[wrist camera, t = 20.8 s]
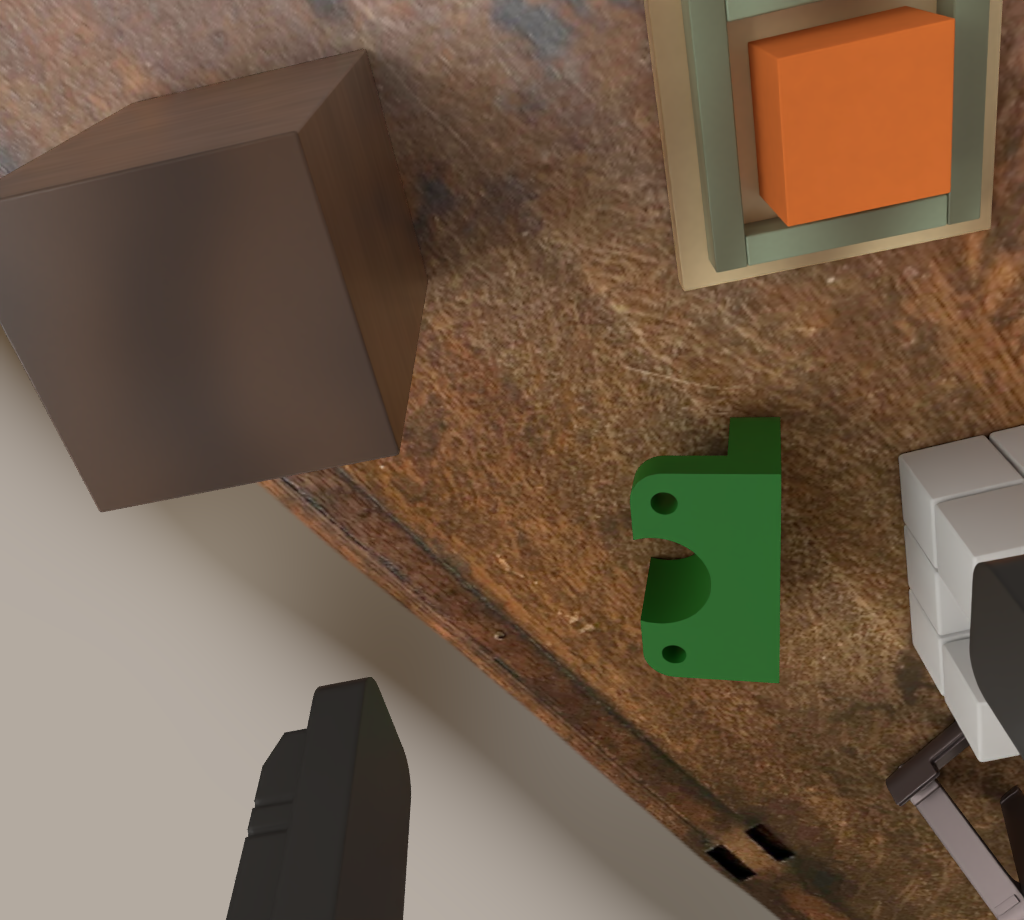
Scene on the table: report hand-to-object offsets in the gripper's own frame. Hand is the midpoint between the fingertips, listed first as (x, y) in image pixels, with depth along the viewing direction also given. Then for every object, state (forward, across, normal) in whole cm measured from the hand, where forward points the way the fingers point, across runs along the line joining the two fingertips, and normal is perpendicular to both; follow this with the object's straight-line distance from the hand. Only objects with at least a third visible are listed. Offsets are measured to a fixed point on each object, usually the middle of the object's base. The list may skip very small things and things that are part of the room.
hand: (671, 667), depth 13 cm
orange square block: (+26, -11, 0) cm, 28 cm away
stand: (+28, +10, -1) cm, 29 cm away
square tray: (+27, -11, 0) cm, 29 cm away
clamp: (+27, -4, +18) cm, 33 cm away
